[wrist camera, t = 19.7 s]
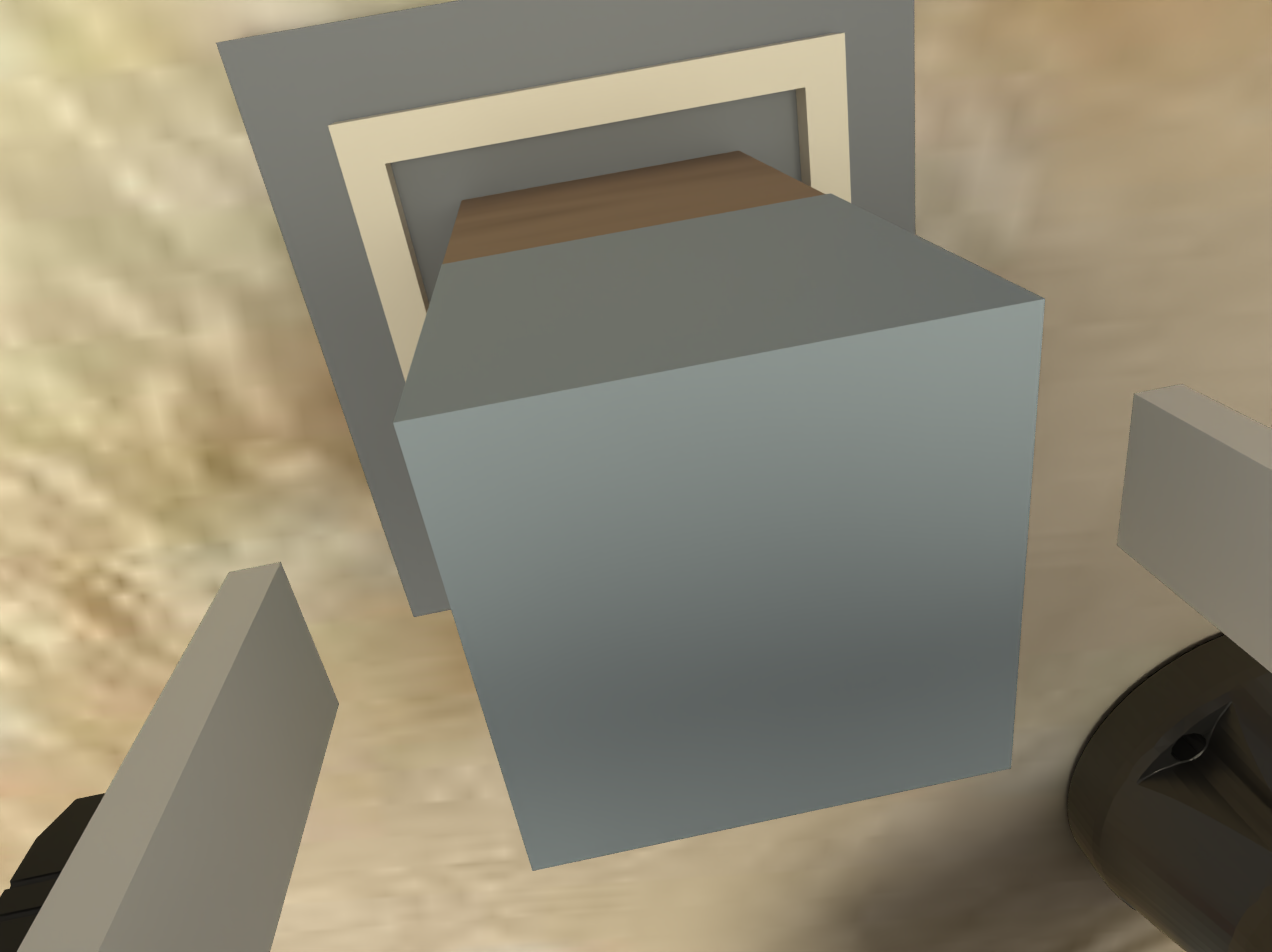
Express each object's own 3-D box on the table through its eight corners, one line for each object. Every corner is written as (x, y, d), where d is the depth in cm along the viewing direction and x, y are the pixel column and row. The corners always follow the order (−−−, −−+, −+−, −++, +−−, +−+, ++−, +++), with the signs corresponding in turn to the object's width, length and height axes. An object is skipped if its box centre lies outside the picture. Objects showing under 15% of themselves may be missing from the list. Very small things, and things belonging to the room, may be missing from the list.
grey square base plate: (891, 485, 29) (926, 527, 27) (419, 581, 28) (411, 632, 26) (881, -70, 22) (928, -84, 19) (241, 42, 21) (204, 43, 18)
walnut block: (761, 405, 25) (844, 527, 19) (521, 451, 25) (525, 591, 18) (738, 150, 22) (829, 196, 15) (461, 200, 21) (441, 267, 15)
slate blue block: (845, 525, 19) (1011, 768, 12) (525, 589, 18) (532, 871, 12) (830, 193, 15) (1044, 298, 9) (441, 264, 15) (392, 422, 9)
